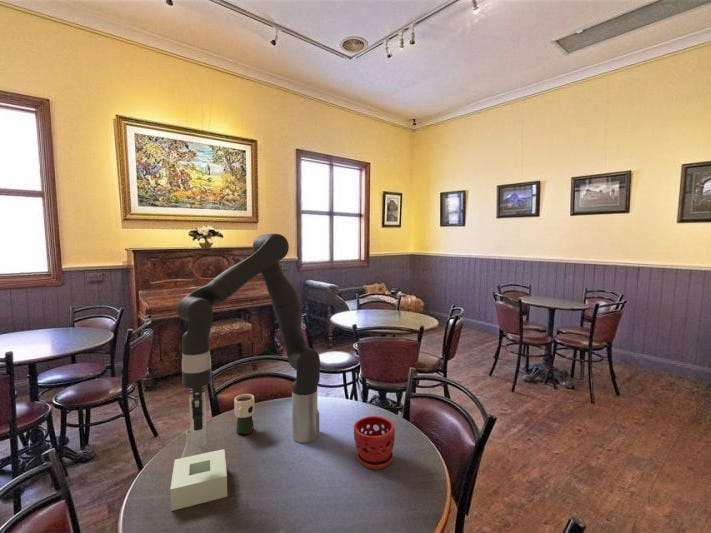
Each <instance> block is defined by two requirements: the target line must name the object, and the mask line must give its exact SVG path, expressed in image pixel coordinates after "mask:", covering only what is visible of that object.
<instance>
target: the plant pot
mask: <svg viewBox="0 0 711 533" xmlns="http://www.w3.org/2000/svg"><path fill="white" fill-rule="evenodd" d="M382 425H383V427H382ZM368 426H369V427H368ZM374 426H378V430H376V429H374ZM362 429H363V430H362ZM395 430H396V429H395V424H394V423H393V422H392V420H391V419H389V418H386V417H384V416H377V415H373V416H372V415H369V416H365V417H363V418H361V419H359V420H357V421H356V422H355V423H354V425H353V435H354V436H353V437H354V444H355V447H356V450H357V459H358V461H359V463H361V465H362V466H364V467H365V468H368V469H371V470H372V469H374V470H376V469H378V470H379V469H383V468H386V467H387V466H389V465H390V464H391V463H392V461H393V459H394V453H393V450H394V446H395V438H396V436H395V435H396V434H395V433H396V431H395ZM370 432H371V433H370ZM382 432H384V433H382Z"/></svg>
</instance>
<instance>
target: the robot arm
mask: <svg viewBox="0 0 711 533" xmlns="http://www.w3.org/2000/svg"><path fill="white" fill-rule="evenodd" d="M289 249H290V246H289V241H288V239H287V238H286V237H285V235H283V234H279V233H269V234H268V233H267V234H262V235H258V236H257V237H256V238H254V240H253V243H252V252H253V253H252V254H250V256H248V257H247V258H245V259H243V260H241V261H239V262H238V263H236V264H234V265H232V266H230V267H229V268H227V269H226V270H223V271H222V272H220V274H218V275H217V276H215V277H214V278H213V279H212V280H211V281H210V282H208V283H207V284H204V285H203V286H201V287H199V288H198V289H196V290H194V291H192V292H190V293H188V294H187V295H186V296H184V297H183V298H182V299H181V300H180V301H179V303H178V305H177V307H176V313H177V316H178V317H179V318H180V319H181V320H183V321H186V322H187V331H186V332H184V333H183V334H182V338H181V348H182V353H181V354H182V356H181V357H182V358H181V375H182V377H181V379H182V381H181V382H182V386H183V387H185V388H186V389H187V388H188V389H189V388H190V389H189V398H190V399H191V409H192V413H193V416H192V418H193V419H194V430H195V431H197V430H202V428H203V423H202V417H203V410H202V409H203V408H204V397H205V398H206V387H205V386H207V385H209V384H211V382H212V360H211V359H212V358H211V357H212V356H211V352H210V333H211V329H212V325H213V318H214V310H213V309H214V308H213V306H214V305H216V304H221V303H224V302H225V301H227V300H228V299H229V298H231V297H232V296H233V295H234V294H235V293H236V292H238V291H239V290H240V289H241V288H242V287H244V286H245V285H246V284H247V283H248V282H249V281H251V280H252V279H253V278H255V277H257V275H260V274H262V277H263V279H264V283H265V286H266V289H267V292H268V296H269V298H270V301H271V304H272V305H271V306H272V309H273V311H274V315H275V317H276V320H277V324H278V326H279V328H280V329H279V330H280V333H281V334H282V337H283V341H284V347H285V351H286V356H287V357H286V358H287V361H288V364H289V365H290V367H291V369H294V370H295V371H296V377H295V378H296V380H294V381H293V382H292V383H291V415H292V416H291V423H292V428H291V430H292V432H291V433H292V439H293V440H294V441H295V442H297V443H310V442H313V441H315V440H316V439H318V438H320V437H321V436H320V433H321V432H320V410H319V409H318V406H319V405H318V404H319V403H318V385H319V383H320V378H321V374H320V373H321V358H320V355H319V353H318V351H317V350H316V349H314V348H311V347H310V346H309V345H307V341H306V340H305V337H304V335H303V334H304V333H303V331H302V322H303V321H302V320H303V312H302V311H303V309H302V306H301V302H300V299H299V295H298V293H297V291H296V290H295V288H294V287H293V285H292V284H291V283H290V281H289V280H288V279H287V278H286V276H285V275H284V272H283V271H282V269H281V265H280V263H279V262H280V261H282V260H283V259H284V258H286V256H287V255H288V253H289ZM195 412H200V413H195Z"/></svg>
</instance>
